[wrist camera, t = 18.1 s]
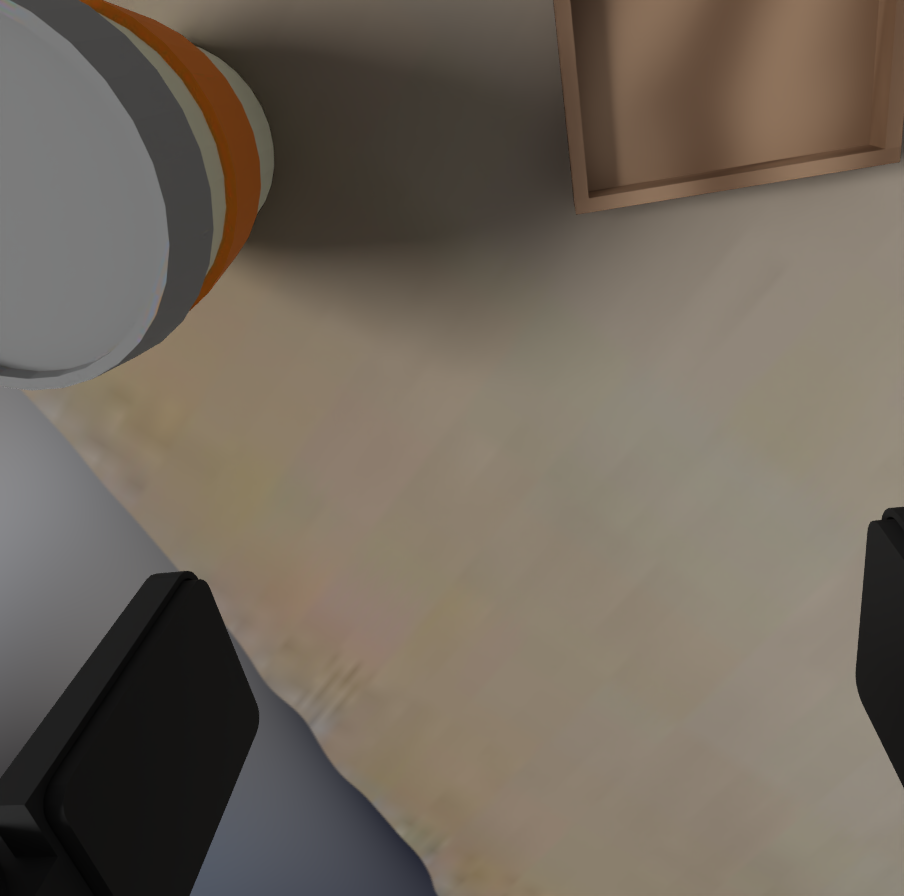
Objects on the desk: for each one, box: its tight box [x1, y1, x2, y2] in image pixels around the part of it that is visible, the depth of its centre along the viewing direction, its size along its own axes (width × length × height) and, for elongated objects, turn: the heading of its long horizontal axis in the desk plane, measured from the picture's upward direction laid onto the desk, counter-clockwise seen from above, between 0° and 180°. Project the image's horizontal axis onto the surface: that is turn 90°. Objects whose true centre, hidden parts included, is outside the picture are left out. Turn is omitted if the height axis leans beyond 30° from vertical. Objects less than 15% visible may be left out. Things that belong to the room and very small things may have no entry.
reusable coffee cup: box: [0, 0, 274, 390], centre depth 29 cm, size 13×12×15 cm
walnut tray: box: [553, 0, 904, 215], centre depth 31 cm, size 13×10×2 cm
